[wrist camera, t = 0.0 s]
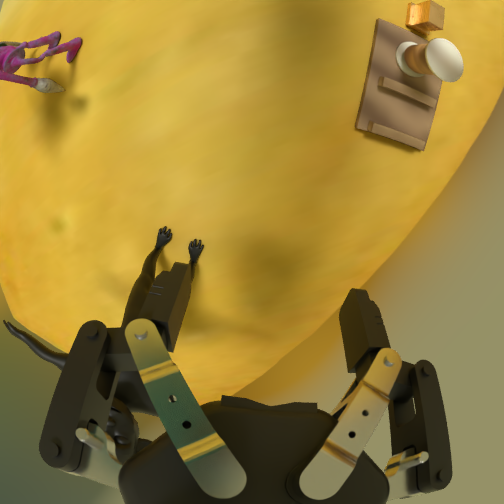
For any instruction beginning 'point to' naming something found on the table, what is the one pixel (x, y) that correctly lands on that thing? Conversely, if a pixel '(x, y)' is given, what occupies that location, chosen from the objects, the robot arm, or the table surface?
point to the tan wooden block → (425, 16)
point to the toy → (34, 60)
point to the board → (405, 83)
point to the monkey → (129, 383)
